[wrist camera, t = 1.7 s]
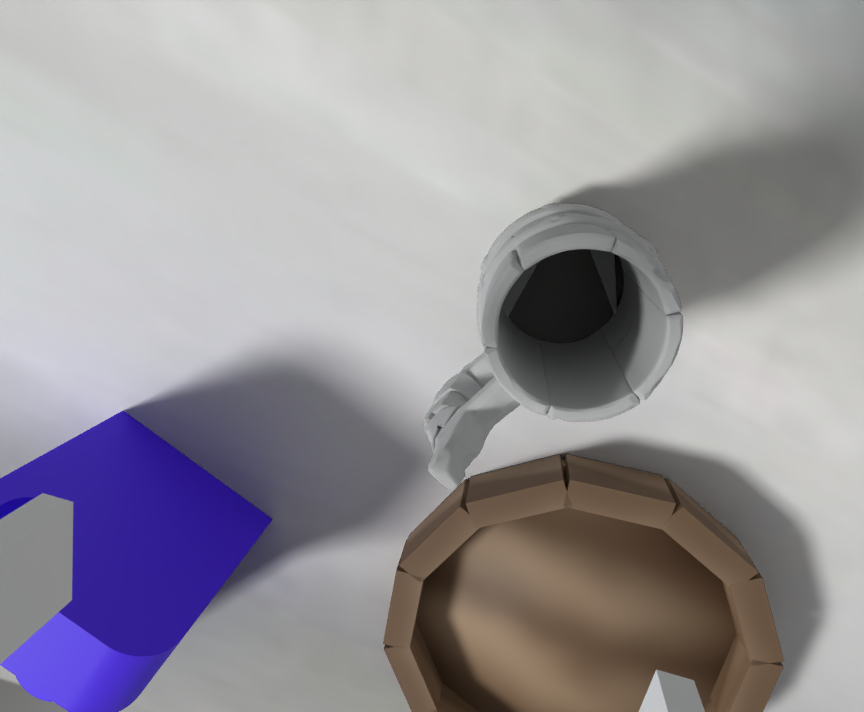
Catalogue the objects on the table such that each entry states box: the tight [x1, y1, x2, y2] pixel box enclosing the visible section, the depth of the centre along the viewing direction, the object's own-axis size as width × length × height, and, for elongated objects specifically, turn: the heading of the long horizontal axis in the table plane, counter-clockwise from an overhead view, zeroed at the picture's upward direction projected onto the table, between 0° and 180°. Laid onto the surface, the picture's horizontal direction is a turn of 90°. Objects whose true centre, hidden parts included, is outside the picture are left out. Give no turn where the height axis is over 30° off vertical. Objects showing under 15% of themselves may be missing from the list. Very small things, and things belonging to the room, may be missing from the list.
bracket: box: [0, 411, 272, 712], centre depth 31 cm, size 18×11×12 cm, turn 144°
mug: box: [423, 203, 683, 490], centre depth 22 cm, size 8×12×12 cm, turn 137°
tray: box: [383, 454, 784, 712], centre depth 31 cm, size 20×20×3 cm
